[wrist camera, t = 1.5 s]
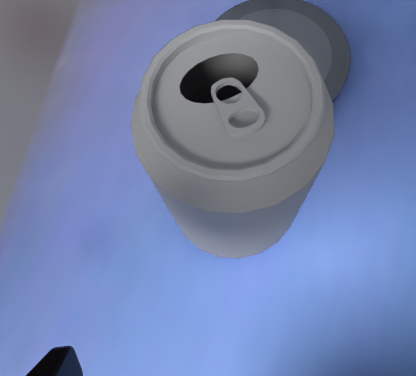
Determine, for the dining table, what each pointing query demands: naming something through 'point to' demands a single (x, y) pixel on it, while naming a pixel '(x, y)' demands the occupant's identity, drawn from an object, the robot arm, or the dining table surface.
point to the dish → (303, 34)
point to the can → (233, 133)
